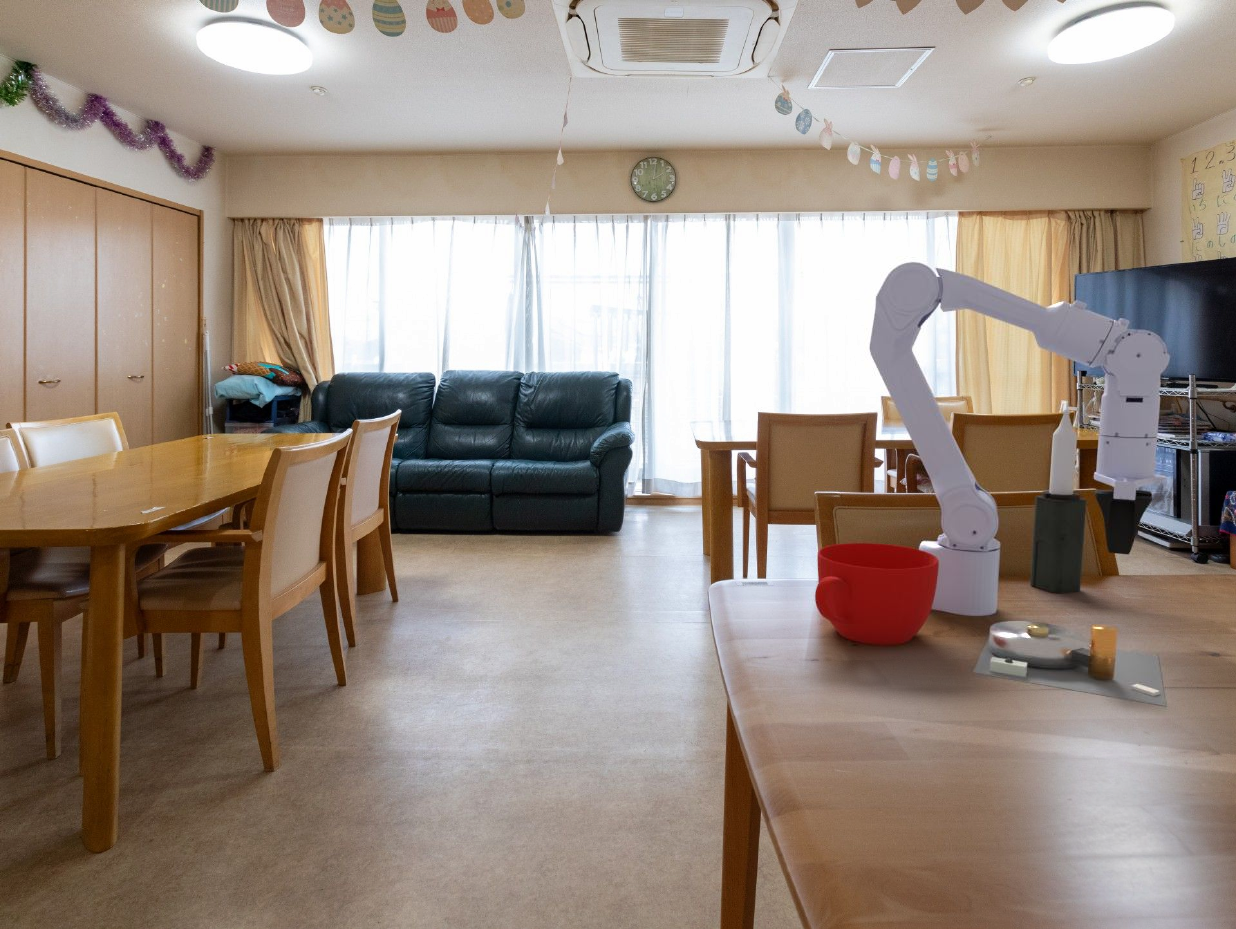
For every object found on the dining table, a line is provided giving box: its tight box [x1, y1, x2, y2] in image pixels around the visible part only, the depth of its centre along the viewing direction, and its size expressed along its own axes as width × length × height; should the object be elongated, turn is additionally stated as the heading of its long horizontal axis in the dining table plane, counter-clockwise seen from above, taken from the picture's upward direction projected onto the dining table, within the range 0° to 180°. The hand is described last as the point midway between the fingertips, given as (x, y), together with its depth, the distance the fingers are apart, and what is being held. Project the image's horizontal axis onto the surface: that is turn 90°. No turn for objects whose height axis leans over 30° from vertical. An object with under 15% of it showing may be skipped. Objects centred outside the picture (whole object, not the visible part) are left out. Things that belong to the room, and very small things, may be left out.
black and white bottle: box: [1029, 408, 1087, 594], centre depth 116 cm, size 5×5×25 cm
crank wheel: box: [988, 620, 1118, 679], centre depth 85 cm, size 13×9×5 cm
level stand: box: [972, 634, 1167, 707], centre depth 85 cm, size 16×15×2 cm
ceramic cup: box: [814, 542, 939, 646], centre depth 93 cm, size 13×17×10 cm
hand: (1118, 552), depth 97 cm, fingers closed
